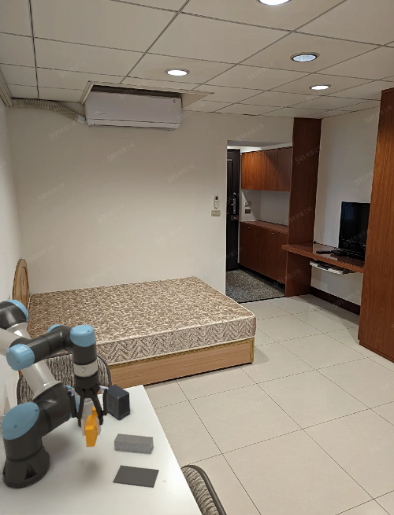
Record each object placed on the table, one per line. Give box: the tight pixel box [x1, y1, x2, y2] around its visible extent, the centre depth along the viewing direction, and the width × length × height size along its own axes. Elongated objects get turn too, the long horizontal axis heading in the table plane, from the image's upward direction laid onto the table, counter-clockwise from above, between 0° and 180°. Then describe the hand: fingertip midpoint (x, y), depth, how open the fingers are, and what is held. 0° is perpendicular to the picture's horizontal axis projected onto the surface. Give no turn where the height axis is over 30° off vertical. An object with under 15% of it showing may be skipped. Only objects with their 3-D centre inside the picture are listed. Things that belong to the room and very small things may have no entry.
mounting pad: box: [112, 464, 160, 489], centre depth 121 cm, size 14×7×1 cm, turn 81°
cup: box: [77, 395, 95, 429], centre depth 146 cm, size 8×8×12 cm
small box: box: [107, 384, 131, 421], centre depth 153 cm, size 11×6×10 cm, turn 49°
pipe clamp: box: [84, 407, 99, 448], centre depth 120 cm, size 12×4×6 cm, turn 4°
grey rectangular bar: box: [113, 433, 154, 455], centre depth 133 cm, size 14×4×4 cm, turn 81°
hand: (91, 433), depth 121 cm, fingers closed on pipe clamp, 4 cm apart
